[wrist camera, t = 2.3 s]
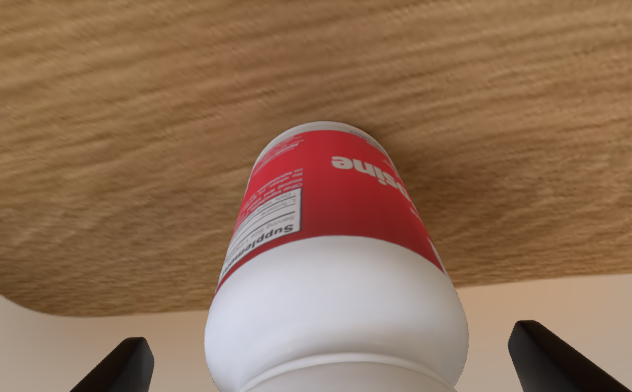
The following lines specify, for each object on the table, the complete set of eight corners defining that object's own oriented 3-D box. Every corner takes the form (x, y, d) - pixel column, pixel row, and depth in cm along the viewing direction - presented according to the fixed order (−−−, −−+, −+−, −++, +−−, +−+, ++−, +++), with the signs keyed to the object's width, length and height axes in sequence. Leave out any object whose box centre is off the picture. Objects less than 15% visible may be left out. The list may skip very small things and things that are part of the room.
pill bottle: (420, 196, 16) (599, 526, 6) (310, 262, 17) (316, 596, 8) (338, 82, 13) (430, 351, 3) (219, 174, 15) (65, 515, 5)
